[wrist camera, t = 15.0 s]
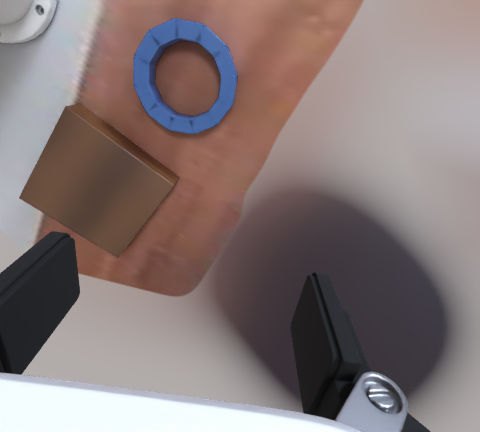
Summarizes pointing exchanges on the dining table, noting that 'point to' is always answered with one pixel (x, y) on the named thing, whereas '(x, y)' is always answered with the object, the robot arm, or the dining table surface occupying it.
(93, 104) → the dining table surface
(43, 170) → the platform
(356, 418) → the robot arm
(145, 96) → the ring
